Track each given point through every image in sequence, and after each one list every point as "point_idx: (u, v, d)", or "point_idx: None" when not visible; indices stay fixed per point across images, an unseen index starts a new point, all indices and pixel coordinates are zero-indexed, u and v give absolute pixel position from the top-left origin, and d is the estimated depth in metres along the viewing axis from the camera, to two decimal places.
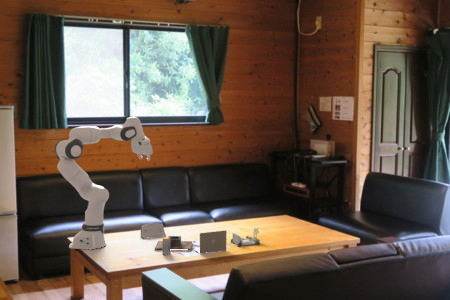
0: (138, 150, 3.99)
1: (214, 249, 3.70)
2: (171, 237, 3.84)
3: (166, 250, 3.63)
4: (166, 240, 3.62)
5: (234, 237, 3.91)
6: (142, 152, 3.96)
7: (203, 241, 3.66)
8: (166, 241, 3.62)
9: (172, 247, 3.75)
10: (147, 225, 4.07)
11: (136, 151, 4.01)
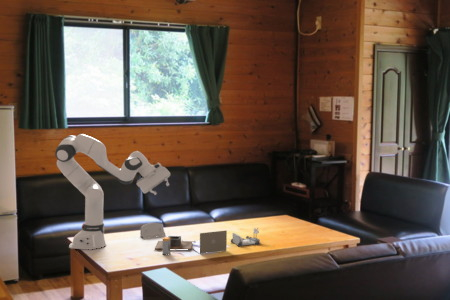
0: (153, 181, 3.69)
1: (214, 249, 3.70)
2: (171, 237, 3.84)
3: (166, 250, 3.63)
4: (166, 240, 3.62)
5: (234, 237, 3.91)
6: (159, 178, 3.71)
7: (203, 241, 3.66)
8: (166, 241, 3.62)
9: (172, 247, 3.75)
10: (146, 225, 4.07)
11: (150, 185, 3.68)
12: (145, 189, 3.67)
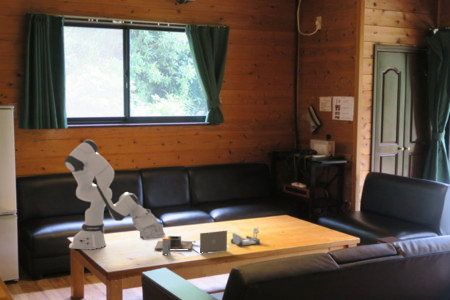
0: (147, 222, 3.65)
1: (214, 249, 3.70)
2: (171, 237, 3.84)
3: (166, 250, 3.63)
4: (166, 240, 3.62)
5: (234, 237, 3.91)
6: (151, 222, 3.69)
7: (203, 241, 3.66)
8: (166, 241, 3.62)
9: (172, 247, 3.75)
10: None
11: (145, 224, 3.62)
12: (143, 226, 3.58)
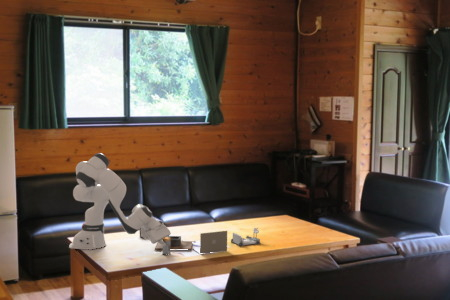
0: (160, 234, 3.63)
1: (215, 249, 3.69)
2: (171, 237, 3.84)
3: (166, 250, 3.63)
4: (166, 240, 3.62)
5: (234, 237, 3.91)
6: (164, 233, 3.67)
7: (204, 241, 3.66)
8: (166, 241, 3.62)
9: (172, 247, 3.75)
10: None
11: (159, 236, 3.60)
12: (157, 238, 3.57)
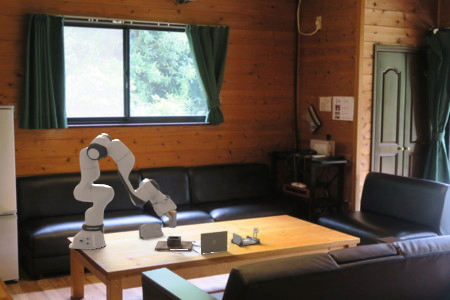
0: (166, 207, 3.75)
1: (215, 250, 3.69)
2: (171, 237, 3.84)
3: (172, 223, 3.74)
4: (172, 213, 3.74)
5: (234, 237, 3.91)
6: (171, 207, 3.79)
7: (204, 241, 3.65)
8: (172, 214, 3.74)
9: (172, 247, 3.75)
10: (145, 226, 4.07)
11: (165, 209, 3.72)
12: (163, 211, 3.68)
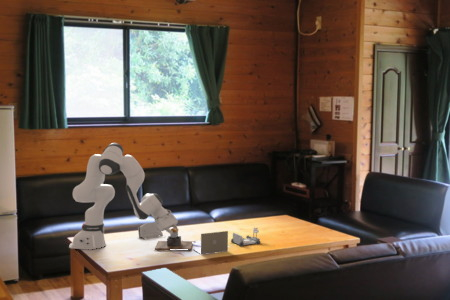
0: (168, 222, 3.80)
1: (215, 250, 3.69)
2: None
3: None
4: (174, 231, 3.79)
5: (235, 237, 3.91)
6: (172, 222, 3.84)
7: (204, 242, 3.65)
8: (174, 232, 3.79)
9: (172, 247, 3.75)
10: (145, 226, 4.06)
11: (167, 224, 3.77)
12: (165, 226, 3.73)
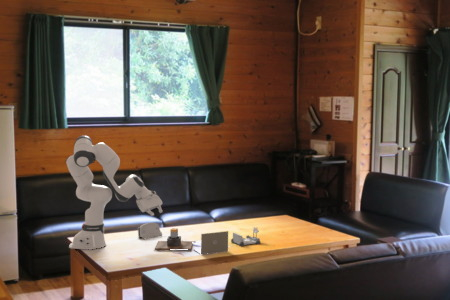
0: (150, 203, 3.83)
1: (216, 250, 3.68)
2: None
3: None
4: (174, 231, 3.79)
5: (235, 237, 3.91)
6: (155, 203, 3.86)
7: (205, 242, 3.64)
8: (174, 232, 3.79)
9: (172, 247, 3.75)
10: (144, 226, 4.06)
11: (149, 205, 3.80)
12: (146, 207, 3.76)
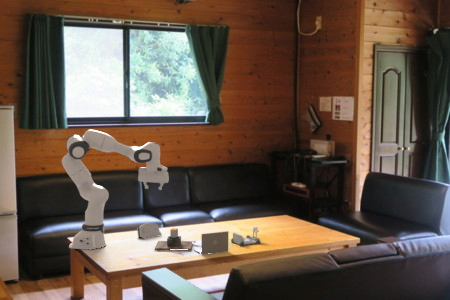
0: (149, 178, 3.84)
1: (216, 250, 3.68)
2: None
3: None
4: (174, 231, 3.79)
5: (235, 237, 3.92)
6: (156, 180, 3.83)
7: (205, 242, 3.64)
8: (174, 232, 3.79)
9: (172, 247, 3.75)
10: (144, 226, 4.06)
11: (145, 179, 3.86)
12: (140, 180, 3.87)
